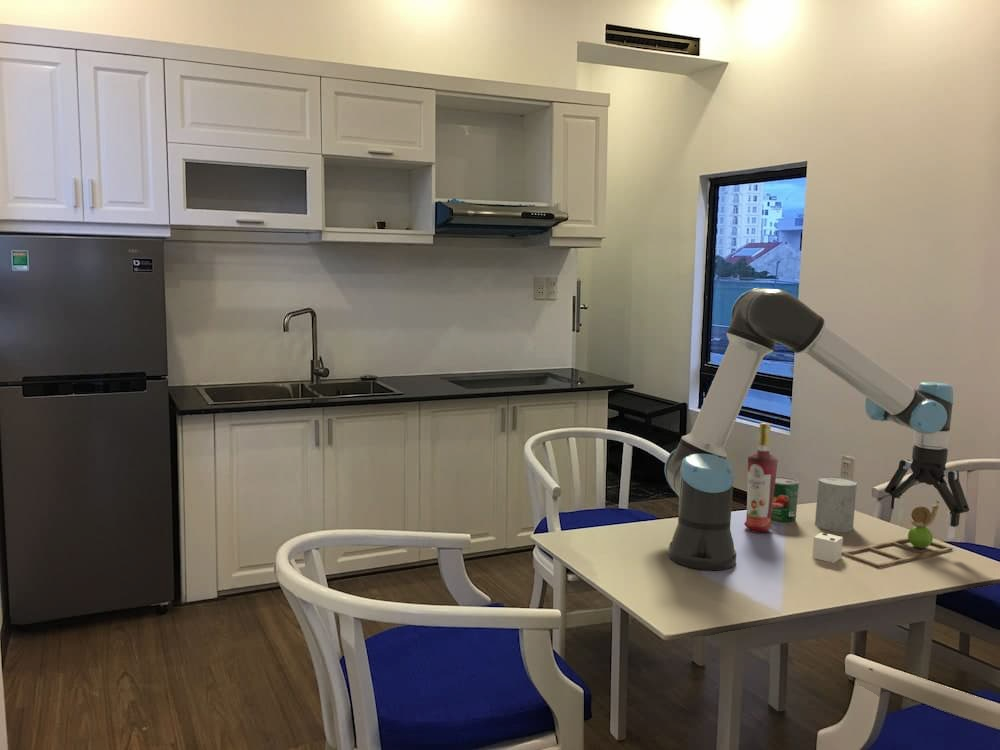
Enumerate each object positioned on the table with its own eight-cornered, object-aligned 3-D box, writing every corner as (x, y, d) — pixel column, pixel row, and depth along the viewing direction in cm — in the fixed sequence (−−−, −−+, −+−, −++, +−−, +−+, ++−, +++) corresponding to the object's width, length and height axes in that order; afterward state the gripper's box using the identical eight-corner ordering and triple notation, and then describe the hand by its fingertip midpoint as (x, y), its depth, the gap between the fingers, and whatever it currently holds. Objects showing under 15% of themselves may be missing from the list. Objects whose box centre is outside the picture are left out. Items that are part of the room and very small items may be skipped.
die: (834, 563, 186) (836, 541, 185) (812, 557, 189) (814, 536, 189) (841, 557, 190) (843, 536, 189) (819, 552, 193) (821, 531, 192)
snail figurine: (940, 551, 196) (944, 503, 195) (913, 550, 196) (917, 502, 195) (928, 544, 202) (933, 497, 200) (903, 543, 202) (907, 496, 200)
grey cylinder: (853, 524, 217) (857, 479, 216) (853, 533, 208) (857, 487, 207) (815, 518, 221) (819, 474, 219) (813, 528, 212) (817, 482, 211)
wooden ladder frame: (878, 568, 183) (878, 565, 183) (840, 554, 192) (841, 552, 192) (952, 550, 197) (952, 548, 197) (914, 538, 206) (914, 536, 206)
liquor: (777, 530, 209) (785, 424, 206) (764, 536, 204) (772, 427, 200) (751, 524, 214) (758, 420, 211) (737, 529, 209) (745, 423, 206)
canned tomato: (763, 521, 217) (766, 481, 216) (767, 514, 224) (769, 475, 223) (794, 526, 214) (797, 485, 212) (797, 518, 221) (800, 479, 219)
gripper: (991, 455, 187) (982, 543, 190) (893, 435, 209) (886, 514, 211) (972, 458, 184) (963, 548, 186) (874, 437, 205) (867, 518, 208)
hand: (922, 530), depth 199 cm, fingers open, 13 cm apart
